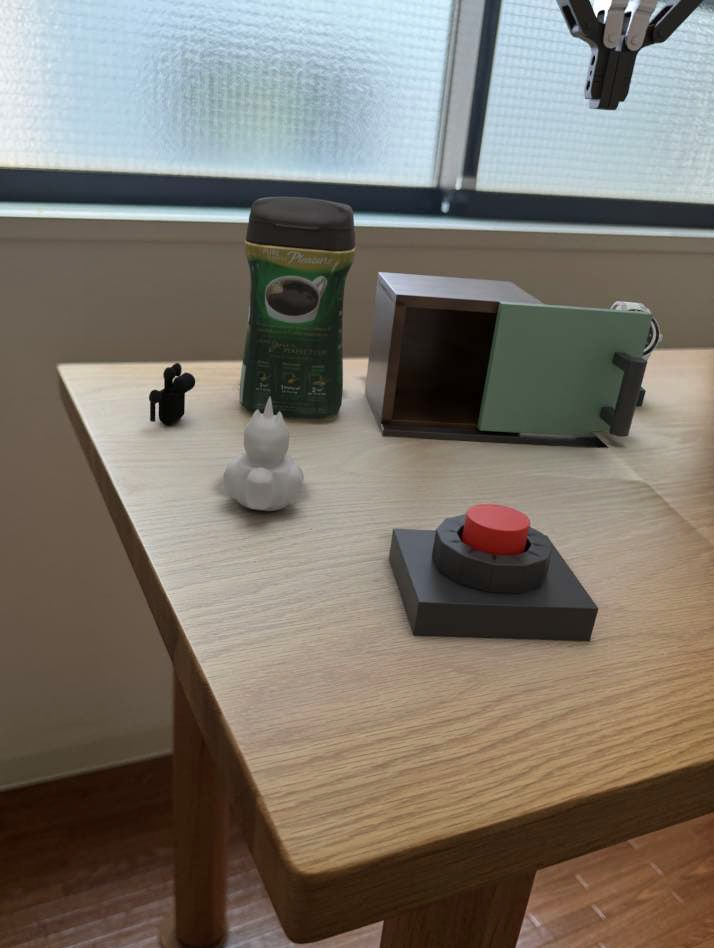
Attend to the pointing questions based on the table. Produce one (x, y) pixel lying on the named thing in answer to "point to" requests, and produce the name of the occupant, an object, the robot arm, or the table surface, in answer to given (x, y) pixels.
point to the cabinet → (440, 358)
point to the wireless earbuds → (171, 395)
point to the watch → (652, 337)
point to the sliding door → (564, 370)
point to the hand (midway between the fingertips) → (602, 109)
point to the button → (496, 529)
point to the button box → (488, 588)
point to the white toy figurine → (264, 465)
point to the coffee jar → (296, 306)
